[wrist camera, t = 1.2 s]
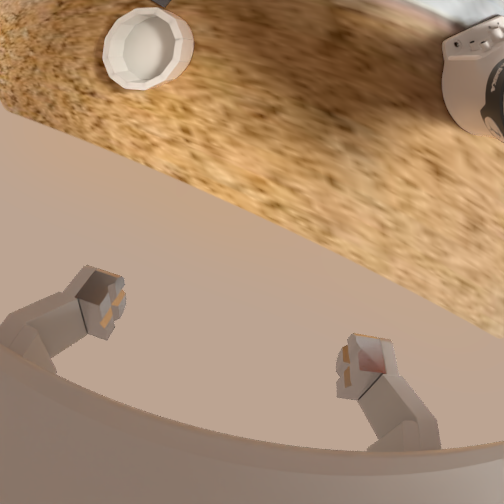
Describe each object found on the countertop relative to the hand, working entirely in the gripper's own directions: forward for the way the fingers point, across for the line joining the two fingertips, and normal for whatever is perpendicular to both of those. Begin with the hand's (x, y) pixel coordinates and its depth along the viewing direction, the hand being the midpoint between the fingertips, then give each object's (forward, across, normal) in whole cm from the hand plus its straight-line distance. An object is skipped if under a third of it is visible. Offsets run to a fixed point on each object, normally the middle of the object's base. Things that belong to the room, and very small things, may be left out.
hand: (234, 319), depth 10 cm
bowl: (+37, +21, -7) cm, 43 cm away
